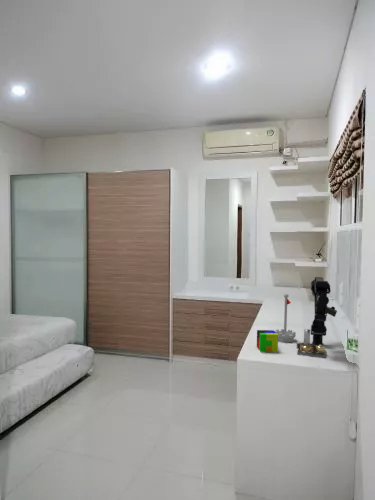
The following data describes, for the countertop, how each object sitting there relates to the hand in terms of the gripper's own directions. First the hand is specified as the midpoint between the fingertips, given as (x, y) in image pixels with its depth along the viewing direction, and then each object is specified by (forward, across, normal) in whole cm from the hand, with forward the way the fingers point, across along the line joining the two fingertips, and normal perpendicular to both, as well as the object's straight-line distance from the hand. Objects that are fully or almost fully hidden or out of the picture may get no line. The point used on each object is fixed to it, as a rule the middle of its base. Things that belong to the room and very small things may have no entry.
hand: (320, 329), depth 218 cm
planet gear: (+12, -6, +7) cm, 15 cm away
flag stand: (+13, +16, +22) cm, 30 cm away
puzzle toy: (+13, -9, +29) cm, 33 cm away
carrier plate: (+13, -6, +4) cm, 15 cm away
